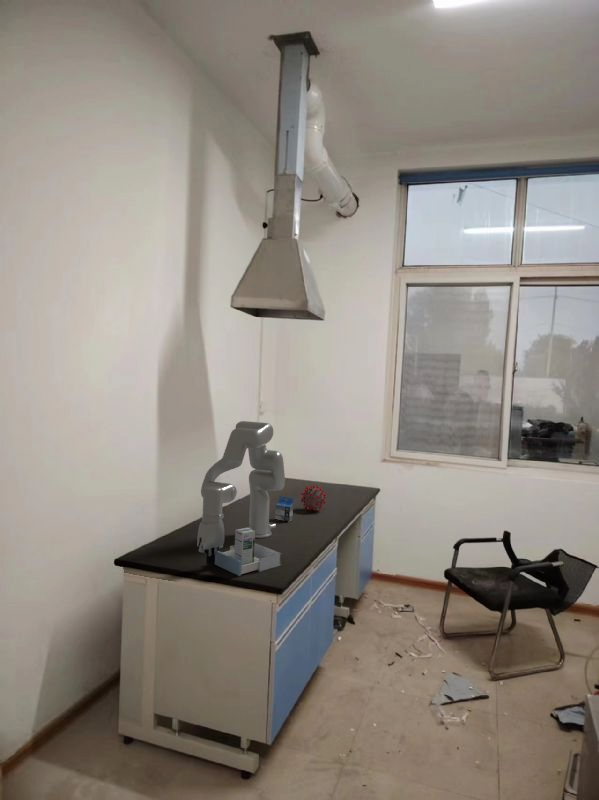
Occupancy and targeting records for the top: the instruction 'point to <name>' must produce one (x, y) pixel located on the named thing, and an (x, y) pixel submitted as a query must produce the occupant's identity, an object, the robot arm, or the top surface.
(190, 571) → the top surface
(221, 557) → the tray
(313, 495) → the virus model
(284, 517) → the label tape cartridge
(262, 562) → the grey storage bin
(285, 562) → the top surface
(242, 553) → the syrup box
